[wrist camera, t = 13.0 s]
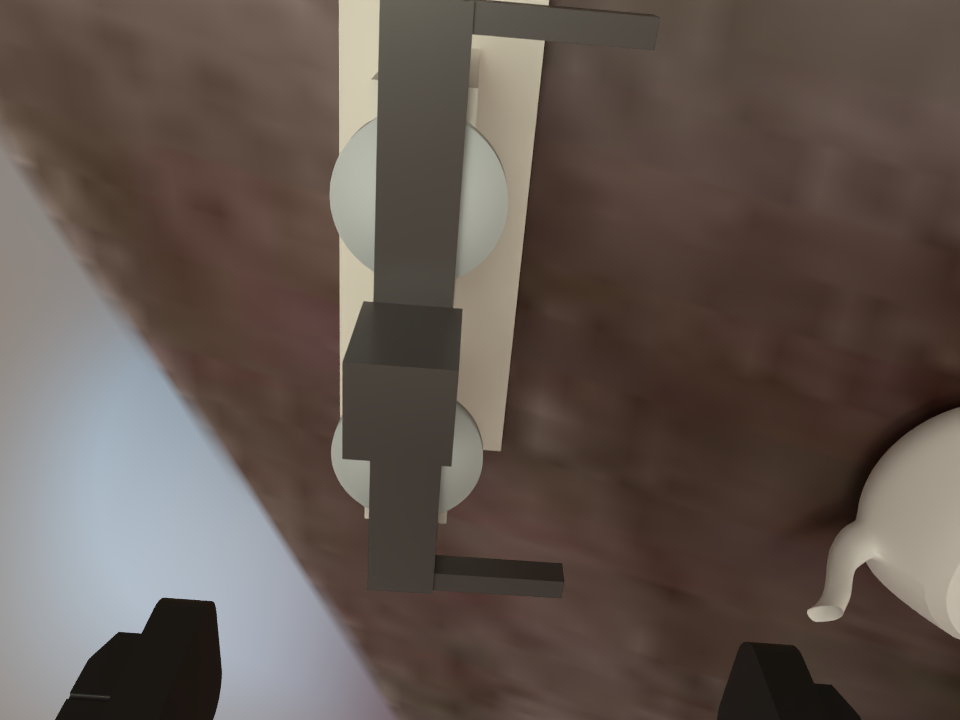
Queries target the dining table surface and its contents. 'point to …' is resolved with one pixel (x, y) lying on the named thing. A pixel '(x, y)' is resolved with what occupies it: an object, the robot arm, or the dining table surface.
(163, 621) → the robot arm
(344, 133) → the display stand
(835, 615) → the teapot
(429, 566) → the spectacle frame
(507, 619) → the dining table surface
